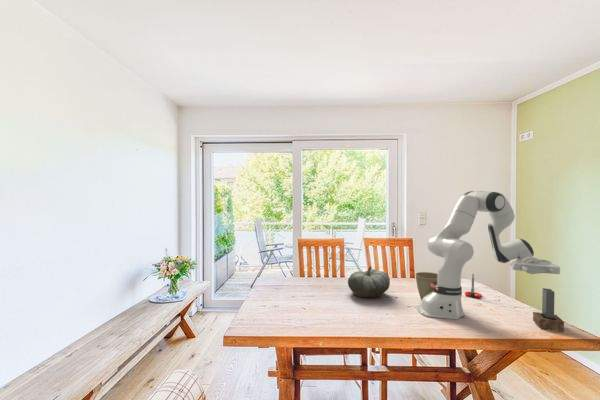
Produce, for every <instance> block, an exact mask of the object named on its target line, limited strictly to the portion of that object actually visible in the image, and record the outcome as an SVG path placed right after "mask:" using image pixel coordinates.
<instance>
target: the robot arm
mask: <svg viewBox="0 0 600 400" xmlns="http://www.w3.org/2000/svg"><path fill="white" fill-rule="evenodd" d="M478 212H480V213H481V212H484V213H487V212H488V214H489V216H490V220H489V223H488V224H487V229H488V234H489V239H490V243H491V248H492V254H493V257H494V258H495V260H496V262H498V263H502V264H506V263H508V262H509V263H508V265H509V266H511V269H512V270H514V271H522V272H525V273H526V274H529V275H535V274H552V275H560V274H561V267H560V266H558V265H557V264H555V263H552V261H550V260H545V259H540V258H537V257H533V256H534V253H535V251H534V248H533V247H532V246H531V244H530V243H529V242H528V241H527V240H525V239H523V238H520V237H519V238H517V239H513V240H511V241H509V242H506V243H503V244H501V240H500V235H501V233H502V232H503V231H504V230H506V229H507V228H508V227H510V226H512V223H513V222H514V220H515V218H516V217H515V213H514V212H515V211H514V209H513V207H512V205H511V204H510V202H509V200H508V199H507V197H506V196H505V195H504V194H502V193H500V192H498V191H488V190H487V191H485V190H475V191H474V190H471V191H467V192H465V193H464V194H463V195H461V196H460V197H459V198H458V200H457V202H456V203H455V205H454V206H453V208H452V212H451V214H450V215H449V218H448V221H447V222H446V223H445V225H444V227H443V228H441V230H440V231H438V233H437V234H436V235H433V236H431V238H429V240H428V242H427V249H428V251H429V252H430V253H432V254H433V255H435V256H437V257H440V258H444V262H443V263H442V266H439V267H438V268H437V270H436V272H437V273H436V274H437V284H436V285H434V284H430V286H431V287H432V288H434V291H432V292H431V293H429V294H428V295H426V296H425V297H423V299H422V301H421V304H418V305H417V306H416V310H417V312H419V313H420V315H423V316H424V317H429V318H437V319H449V320H459V319H460V318H461V317H463V316H464V315H465V313H464V308H463V304H462V294H463V291H462V290H463V289H462V272H463V269H464V266H465V265H466V264H467V262H469V261H470V260H472V258H473V256H474V247H473V246H472V244H471V243H469V242H467V241H465V240H463V239H461V237H463V236H465V235H467V234H469V232H470V231H471V228H472V226H473V225H474V222H475V219H476V217H477V214H478ZM510 261H512V262H510Z"/></svg>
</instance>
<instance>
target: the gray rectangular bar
mask: <svg viewBox="0 0 600 400" xmlns="http://www.w3.org/2000/svg"><path fill="white" fill-rule="evenodd" d="M541 292H542V293H541V294H542V296H541V297H542V299H541V303H542V304H541V306H542V307H541V313H542V316H543V317H544V318H545V319H552V320H554V315H555V291H553V289H551V288H543V287H542V291H541Z"/></svg>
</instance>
